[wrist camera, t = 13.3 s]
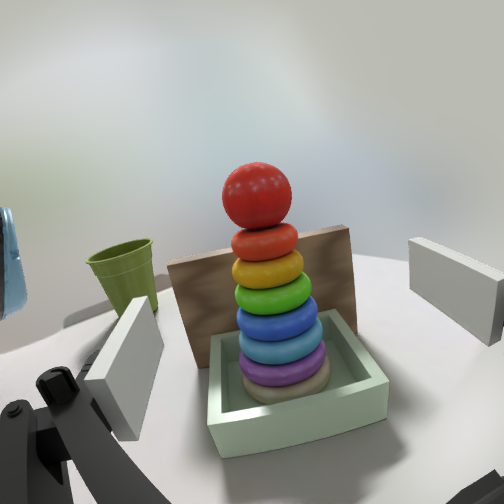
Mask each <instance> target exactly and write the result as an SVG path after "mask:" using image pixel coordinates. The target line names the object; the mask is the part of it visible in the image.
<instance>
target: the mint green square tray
mask: <svg viewBox="0 0 504 504" xmlns="http://www.w3.org/2000/svg"><path fill="white" fill-rule="evenodd" d="M317 318H318V319H319V320H320V322H321V324H322V328H323V335H322V340H323V342H324V344H325V348H326V355H327V356H328V358H329V360H330V363H331V375H330V378H329V380H328V382H327V384H326V385H325V387H324V388H323V389H322V390H321V391H320V392H318V393H317V394H314V395H310V396H306V397H302V398H298V399H294V400H290V401H285V402H281V403H276V404H271V405H270V404H265V403H262V402H259V401H257V400H255V399H253V398H252V397H251V396H249V395H248V394H247V393H246V391H245V390H244V388H243V385H242V381H241V375H242V371H241V369H240V366H239V361H238V359H239V354H240V351H241V348H240V345H239V334H240V332H241V330H238V331H233V332H228V333H223V334H217V335H212V336H211V348H210V368H209V390H208V417H207V426H208V428H209V431H210V433H211V435H212V438H213V440H214V442H215V445H216V447H217V449H218V452H219V454H220V456H221V458H229V457H236V456H243V455H249V454H255V453H260V452H266V451H271V450H276V449H281V448H286V447H290V446H294V445H299V444H303V443H307V442H311V441H315V440H319V439H323V438H326V437H330V436H333V435H337V434H340V433H344V432H347V431H350V430H353V429H357V428H360V427H363V426H366V425H369V424H372V423H374V422H377V421H380V420H383V419H386V418H387V410H388V398H389V384H390V381H389V380H388V378H387V377H386V375H385V374H384V373H383V371H382V370H381V369H380V367H379V366H378V365H377V363H376V362H375V361H374V359H373V358H372V357H371V355H370V354H369V353H368V351H367V350H366V349H365V347H364V346H363V345H362V343H361V342H360V341H359V339H358V338H357V337H356V335H355V334H354V333H353V331H352V330H351V329H350V327H349V326H348V325H347V323H346V322H345V321H344V320H343V318H342V317H341V316H340V314H339V313H338V312H337V310H336V309H331V310H327V311H323V312H319V313H317Z"/></svg>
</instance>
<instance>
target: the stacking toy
mask: <svg viewBox="0 0 504 504" xmlns="http://www.w3.org/2000/svg"><path fill="white" fill-rule="evenodd" d="M222 200H223V206H224V208H225V211H226V213H227V214H228V216H229V217H230V219H231V220H232V221H233V222H234V223H235V224H237V225H238V226H240V227H241V228H245V229H242V230H240V231H238V232H237V233H236V234H235V235H234V237H233V239H232V241H231V246H232V250H233V252H234V254H235V255H236V256H237V257H239V258H238V259H237V260H236V261H235V263H234V265H233V267H232V275H233V278H234V280H235V281H236V282H237V283H238V285H237V287H236V290H235V299H236V302H237V304H238V305H239V306H240V308H239V310H238V312H237V323H238V326H239V328H240V330H241V332H240V334H239V345H240V348H241V351H240V354H239V359H238V361H239V366H240V369H241V371H242V375H241V381H242V385H243V388H244V390H245V391H246V393H247V394H248V395H249V396H251V397H252V398H253V399H255V400H257V401H259V402H262V403H265V404H270V405H271V404H276V403H281V402H285V401H290V400H294V399H298V398H302V397H306V396H310V395H314V394H317V393H318V392H320V391H321V390H322V389H323V388H324V387H325V385H326V384H327V382H328V380H329V378H330V375H331V363H330V360H329V358H328V356H327V355H326V348H325V344H324V342H323V340H322V335H323V328H322V324H321V322H320V320H319V319H318V318H317V313H318V308H317V304H316V302H315V300H314V299H313V298H312V297H311V296H310V293H311V282H310V279H309V277H308V276H307V275H306V274H305V273H303V272H302V271H303V268H304V260H303V257H302V256H301V254H300V253H299V252H297V251H296V250H294V248H295V246H296V244H297V242H298V233H297V230H296V229H295V228H294V227H293V226H292V225H291V224H288V223H282V222H281V221H282V220H283V219H284V218H285V216H286V215H287V213H288V211H289V208H290V205H291V200H292V192H291V187H290V184H289V182H288V179H287V178H286V176H285V175H284V174H283V173H282V172H281V171H280V170H279V169H277V168H276V167H274V166H272V165H269V164H267V163H260V162H255V163H249V164H245V165H243V166H240V167H239V168H237V169H236V170H234V171H233V172H232V173H231V174H230V175H229V177H228V178H227V180H226V182H225V184H224V187H223V192H222Z"/></svg>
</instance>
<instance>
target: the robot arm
mask: <svg viewBox="0 0 504 504" xmlns="http://www.w3.org/2000/svg"><path fill="white" fill-rule="evenodd" d="M408 245H409V270H410V289H411V290H412V291H414V292H415V293H416V294H418V295H419V296H421V297H422V298H423V299H425V300H426V301H428V302H429V303H430V304H432V305H433V306H435V307H436V308H437V309H439V310H440V311H441V312H443V313H444V314H445V315H447V316H448V317H450V318H451V319H452V320H454V321H455V322H456V323H458V324H459V325H460V326H462V327H463V328H464V329H466V330H467V331H468V332H470V333H471V334H472V335H474V336H475V337H476V338H478V339H479V340H480V341H481V342H483V343H484V344H485V345H487V346H488V347H489V346H491V345H493V344H494V343H496V342H498V341H500V340H501V336H502V331H503V326H504V273H502V272H501V271H499V270H496V269H494V268H492V267H490V266H487V265H485V264H483V263H481V262H478V261H476V260H474V259H472V258H470V257H467V256H465V255H463V254H460V253H458V252H456V251H453V250H451V249H448V248H446V247H444V246H441V245H439V244H437V243H434V242H432V241H429V240H427V239H424V238H422V237H417V238H412V239H409V240H408ZM26 302H27V289H26V284H25V279H24V274H23V269H22V264H21V260H20V255H19V250H18V245H17V238H16V233H15V227H14V222H13V217H12V213H11V210H10V209H9V208H0V320H4V319H5V318H6V317H7V316H9V315H11V314H13V313H15V312H17V311H19V310H21V309H22V308H23V307H24V306H25V304H26ZM163 348H164V343H163V340H162V338H161V335H160V332H159V329H158V326H157V323H156V320H155V317H154V314H153V311H152V308H151V305H150V302H149V299H148V296H144V297H138V298H133V299H132V301H131V303H130V304H129V306H128V307H127V309H126V310H125V312H124V314H123V315H122V317H121V318H120V320H119V322H118V323H117V325H116V326H115V328H114V330H113V331H112V333H111V335H110V336H109V338H108V340H107V341H106V343H105V345H104V346H103V348H102V350H97V351H96V352H94V353H93V354H92V355H91V356H90V357H89V358H88V359H87V361H86V363H85V364H84V365H85V366H83V368H82V369H81V372H80V373H79V374H78V376H77V377H76V379H74V377H73V375H72V373H71V371H70V369H69V368H67V367H63V366H60V367H55V368H52V369H49V370H47V371H46V372H44V373H43V374H42V375H40V376H39V377H38V379H37V381H36V387H37V389H38V390H39V392H40V394H41V396H42V397H43V399H44V401H45V402H46V404H47V406H48V407H44V408H40V409H36V410H33V408H32V407H31V405H30V403H29V402H28V401H27V400H22V399H21V400H16V401H14V402H10V403H9V404H8V405H6V407H5V408H4V409H3V410H2V413H1V415H0V504H74V503H73V498H72V492H71V487H70V481H69V475H68V468H67V460H73V462H74V464H75V466H76V468H77V470H78V471H79V473H80V475H81V477H82V479H83V480H84V482H85V484H86V486H87V487H88V489H89V491H90V492H91V494H92V496H93V497H94V499H95V501H96V502H97V504H171V503H170V502H169V501H168V500H167V499H166V498H165V497H164V495H163V494H162V493H161V492H160V491H159V490H158V489H157V488H156V487H155V486H154V485H153V484H152V483H151V482H150V481H149V479H148V478H147V477H146V476H145V475H144V474H143V473H142V472H141V470H140V469H139V468H138V467H137V466H136V465H135V463H134V462H133V461H132V460H131V459H130V457H129V456H128V455H127V454H126V453H125V451H124V450H123V449H122V448H121V446H120V445H119V444H118V443H117V441H116V440H115V439H114V437H113V436H112V435H111V431H113V433H114V434H115V436H116V438H117V439H118V441H138V440H139V436H140V432H141V428H142V424H143V420H144V417H145V413H146V409H147V405H148V401H149V398H150V394H151V390H152V387H153V383H154V379H155V376H156V372H157V369H158V365H159V362H160V358H161V355H162V351H163ZM446 504H504V476H502V477H500V475H499V474H498V473H497V472H496V470H495V469H494V470H493V471H491V472H490V473H488V474H487V475H485V476H484V477H482V478H480V479H479V480H477V481H476V482H474V483H473V484H471V485H469V486H467V487H466V488H464V489H462V490H461V491H460V492H459V493H458V494H456V495H455V496H454V497H453V498H452V499H451V500H450V501H449V502H447V503H446Z"/></svg>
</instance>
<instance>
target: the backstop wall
mask: <svg viewBox="0 0 504 504" xmlns="http://www.w3.org/2000/svg"><path fill="white" fill-rule="evenodd" d="M294 250H296V251H297V252H299V253H300V254H301V256H302V257H303V260H304V268H303V271H302V272H303V273H305V274H306V275H307V276H308V277H309V279H310V282H311V293H310V296H311V297H312V298H313V299H314V300H315V302H316V304H317V308H318V313H319V312H323V311H327V310H331V309H336V310H337V312H338V313H339V314H340V316H341V317H342V318H343V320H344V321H345V322H346V323H347V325H348V326H349V327H350V329H351V330H352V331H353V333H354V334H356V333H357V314H356V299H355V285H354V274H353V263H352V253H351V243H350V235H349V228H347V227H346V226H344V225H337V226H332V227H327V228H322V229H317V230H313V231H307V232H302V233H298V242H297V244H296V246H295V248H294ZM238 258H239V257H237V256H236V255H235V254H234V252H233V250H232V247H230V248H225V249H220V250H215V251H211V252H206V253H201V254H196V255H192V256H187V257H182V258H177V259H173V260H170V261H169V263H168V264H167V269H168V272H169V276H170V279H171V283H172V287H173V290H174V294H175V297H176V300H177V304H178V307H179V311H180V314H181V317H182V320H183V324H184V327H185V330H186V333H187V336H188V340H189V343H190V346H191V349H192V352H193V355H194V358H195V361H196V364H197V367H198V368H204V367H210V348H211V336H212V335H217V334H223V333H228V332H233V331H238V330H240V328H239V326H238V323H237V312H238V310H239V308H240V306H239V305H238V304H237V302H236V299H235V290H236V287H237V285H238V283H237V282H236V281H235V280H234V278H233V275H232V267H233V265H234V263H235V261H236V260H237V259H238Z"/></svg>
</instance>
